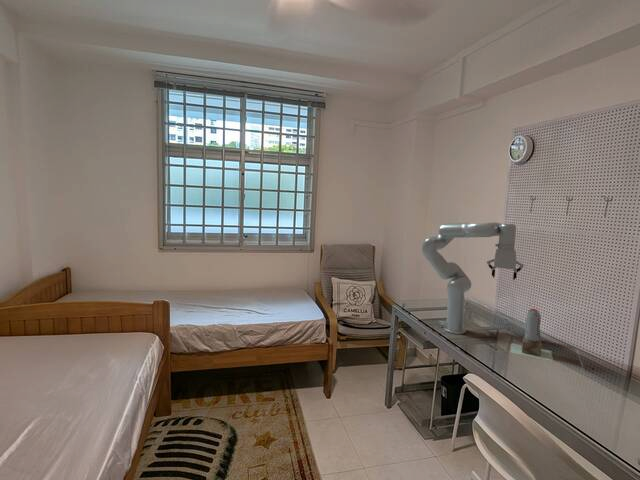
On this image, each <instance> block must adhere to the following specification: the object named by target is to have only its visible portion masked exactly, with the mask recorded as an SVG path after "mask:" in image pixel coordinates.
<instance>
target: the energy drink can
mask: <svg viewBox="0 0 640 480" xmlns="http://www.w3.org/2000/svg"><path fill="white" fill-rule="evenodd" d="M538 311H539V310H538ZM538 311H534V310H531V309H529V310H528V311H527V313H526V318H525V332H524V336H525V338H526V340H527V341H530V342H537V341H538V340H539V333H540V332H541V330H540V328H541V320H542V319H541V317H542V315H541V313H540V311H539V312H538ZM539 331H540V332H539Z"/></svg>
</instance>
